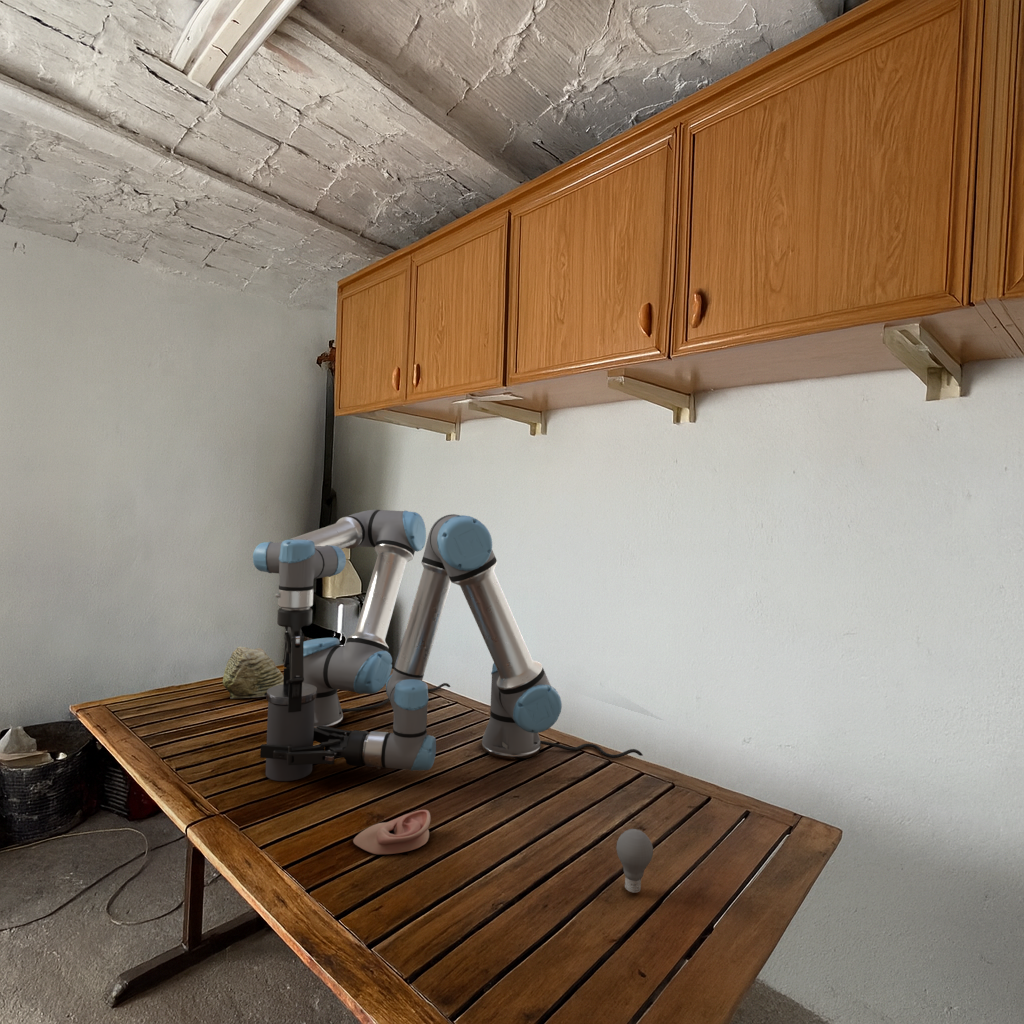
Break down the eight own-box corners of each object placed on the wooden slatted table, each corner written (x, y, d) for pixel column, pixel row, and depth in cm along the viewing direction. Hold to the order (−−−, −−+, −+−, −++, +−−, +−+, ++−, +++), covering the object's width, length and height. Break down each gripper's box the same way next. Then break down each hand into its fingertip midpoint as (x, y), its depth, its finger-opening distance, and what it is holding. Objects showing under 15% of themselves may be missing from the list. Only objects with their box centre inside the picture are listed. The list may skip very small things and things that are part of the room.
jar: (288, 759, 152) (291, 683, 152) (321, 768, 148) (324, 690, 147) (255, 775, 143) (258, 694, 142) (290, 785, 138) (293, 702, 138)
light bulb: (610, 879, 108) (613, 822, 108) (644, 879, 109) (647, 822, 109) (619, 902, 102) (622, 840, 102) (655, 901, 103) (658, 840, 103)
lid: (257, 703, 140) (257, 695, 140) (279, 688, 151) (280, 681, 151) (305, 706, 139) (305, 698, 139) (324, 691, 150) (324, 684, 150)
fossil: (218, 695, 195) (220, 647, 195) (278, 685, 208) (279, 640, 207) (228, 703, 189) (230, 653, 188) (289, 692, 201) (290, 645, 201)
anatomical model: (346, 827, 114) (372, 798, 125) (345, 849, 114) (372, 818, 125) (416, 839, 111) (436, 808, 122) (415, 861, 111) (436, 828, 123)
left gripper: (273, 599, 153) (270, 689, 154) (282, 617, 132) (278, 722, 133) (305, 598, 157) (302, 687, 157) (319, 616, 136) (316, 718, 136)
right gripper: (349, 787, 132) (247, 779, 134) (380, 745, 155) (292, 739, 157) (351, 751, 132) (248, 744, 134) (381, 715, 155) (293, 709, 157)
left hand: (291, 703), depth 145 cm, fingers closed on lid, 11 cm apart
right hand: (272, 741), depth 145 cm, fingers closed on jar, 10 cm apart
